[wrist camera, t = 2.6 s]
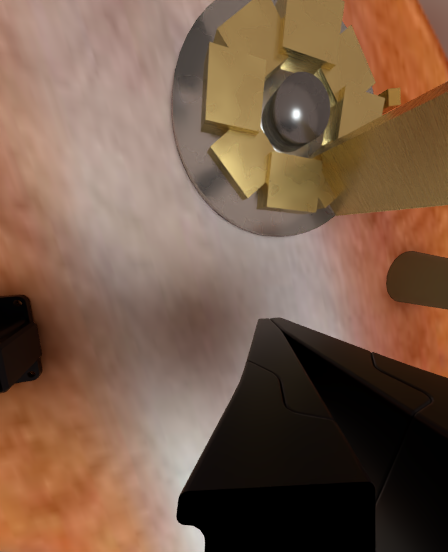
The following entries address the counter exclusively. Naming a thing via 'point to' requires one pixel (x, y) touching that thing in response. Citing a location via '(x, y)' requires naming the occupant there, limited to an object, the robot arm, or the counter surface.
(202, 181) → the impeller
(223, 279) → the counter surface
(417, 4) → the counter surface
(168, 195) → the counter surface
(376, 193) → the tan block ring
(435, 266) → the olive pepper mill
